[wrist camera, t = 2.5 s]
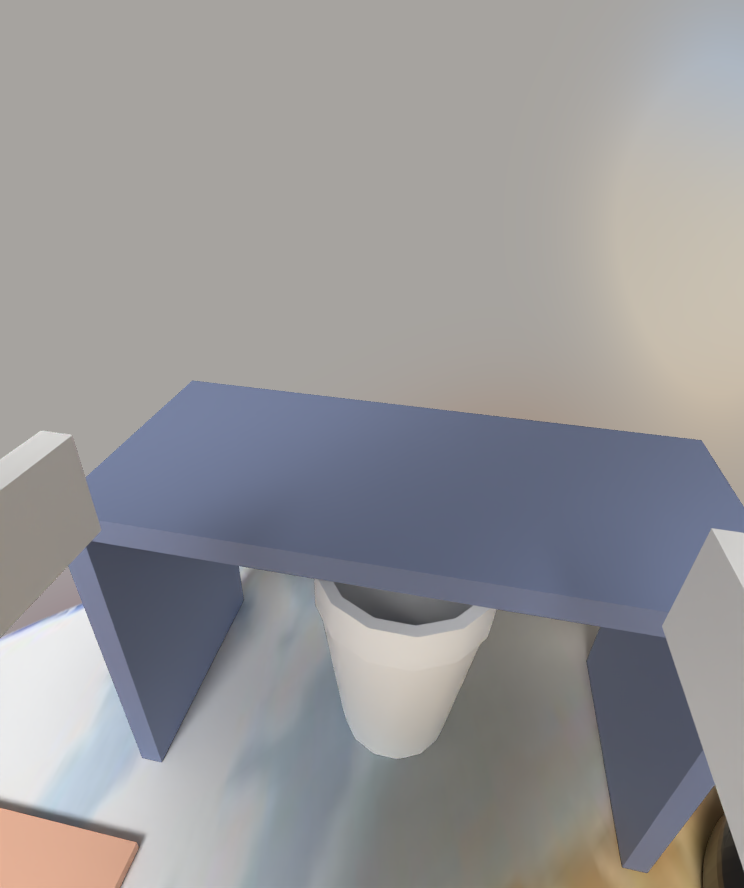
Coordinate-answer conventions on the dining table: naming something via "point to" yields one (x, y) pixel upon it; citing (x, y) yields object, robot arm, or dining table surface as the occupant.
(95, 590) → the rectangular arch
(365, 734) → the foam cup
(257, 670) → the dining table surface
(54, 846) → the mat
